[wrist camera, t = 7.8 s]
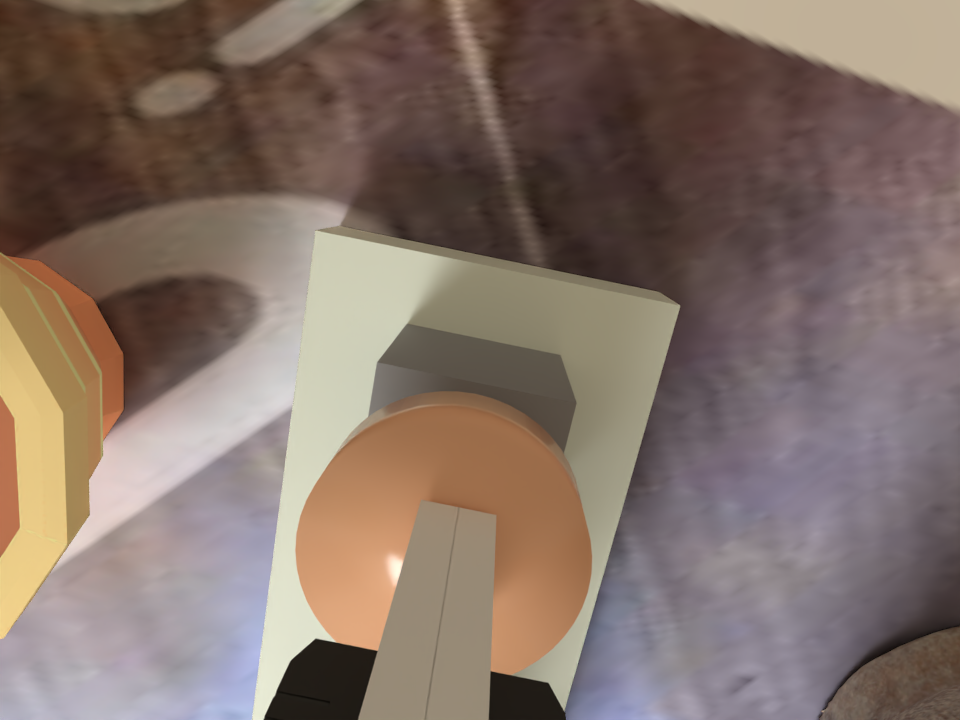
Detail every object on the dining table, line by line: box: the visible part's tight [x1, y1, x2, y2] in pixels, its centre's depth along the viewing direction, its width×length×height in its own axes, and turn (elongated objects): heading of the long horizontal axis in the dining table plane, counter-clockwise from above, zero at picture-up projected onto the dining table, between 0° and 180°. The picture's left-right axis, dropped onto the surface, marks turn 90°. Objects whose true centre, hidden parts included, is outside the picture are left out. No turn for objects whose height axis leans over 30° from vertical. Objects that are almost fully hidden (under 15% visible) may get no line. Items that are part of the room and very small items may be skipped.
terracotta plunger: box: [295, 391, 592, 675], centre depth 16 cm, size 6×6×7 cm
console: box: [252, 226, 680, 720], centre depth 23 cm, size 12×30×8 cm, turn 169°
